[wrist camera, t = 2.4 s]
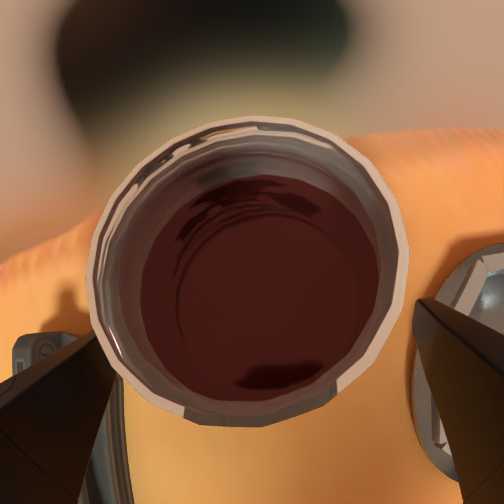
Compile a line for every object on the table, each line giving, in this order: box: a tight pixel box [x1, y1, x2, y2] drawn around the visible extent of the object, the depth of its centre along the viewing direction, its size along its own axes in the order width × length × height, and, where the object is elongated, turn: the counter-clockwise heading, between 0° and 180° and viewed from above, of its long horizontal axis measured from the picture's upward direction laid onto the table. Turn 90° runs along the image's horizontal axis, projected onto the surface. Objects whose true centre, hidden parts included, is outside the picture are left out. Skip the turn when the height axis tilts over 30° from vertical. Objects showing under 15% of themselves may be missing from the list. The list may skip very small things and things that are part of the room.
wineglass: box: [85, 115, 410, 427], centre depth 11 cm, size 7×7×12 cm
